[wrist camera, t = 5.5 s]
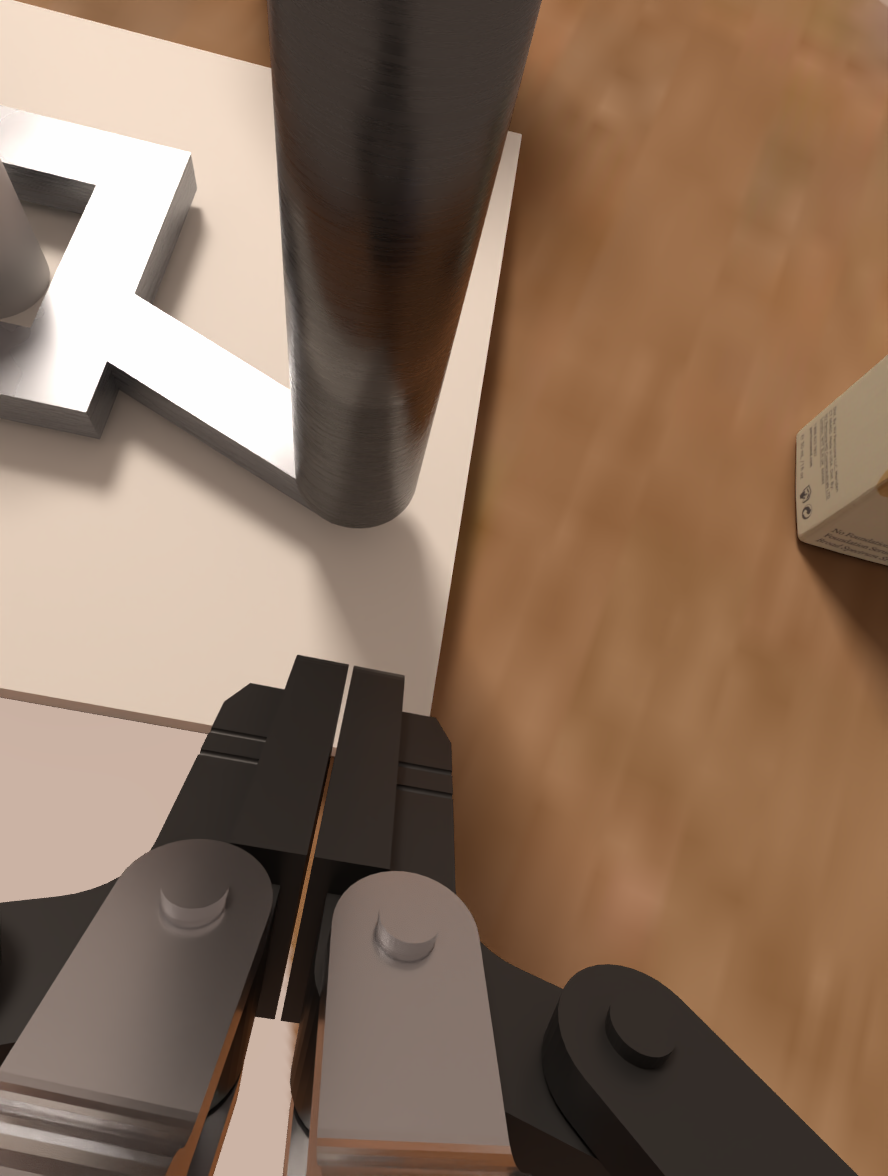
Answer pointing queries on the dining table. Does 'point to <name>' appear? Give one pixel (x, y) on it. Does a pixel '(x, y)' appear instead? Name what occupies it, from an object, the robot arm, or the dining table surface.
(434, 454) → the post base
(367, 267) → the grey angle bracket
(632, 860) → the dining table surface
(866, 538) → the skincare box
